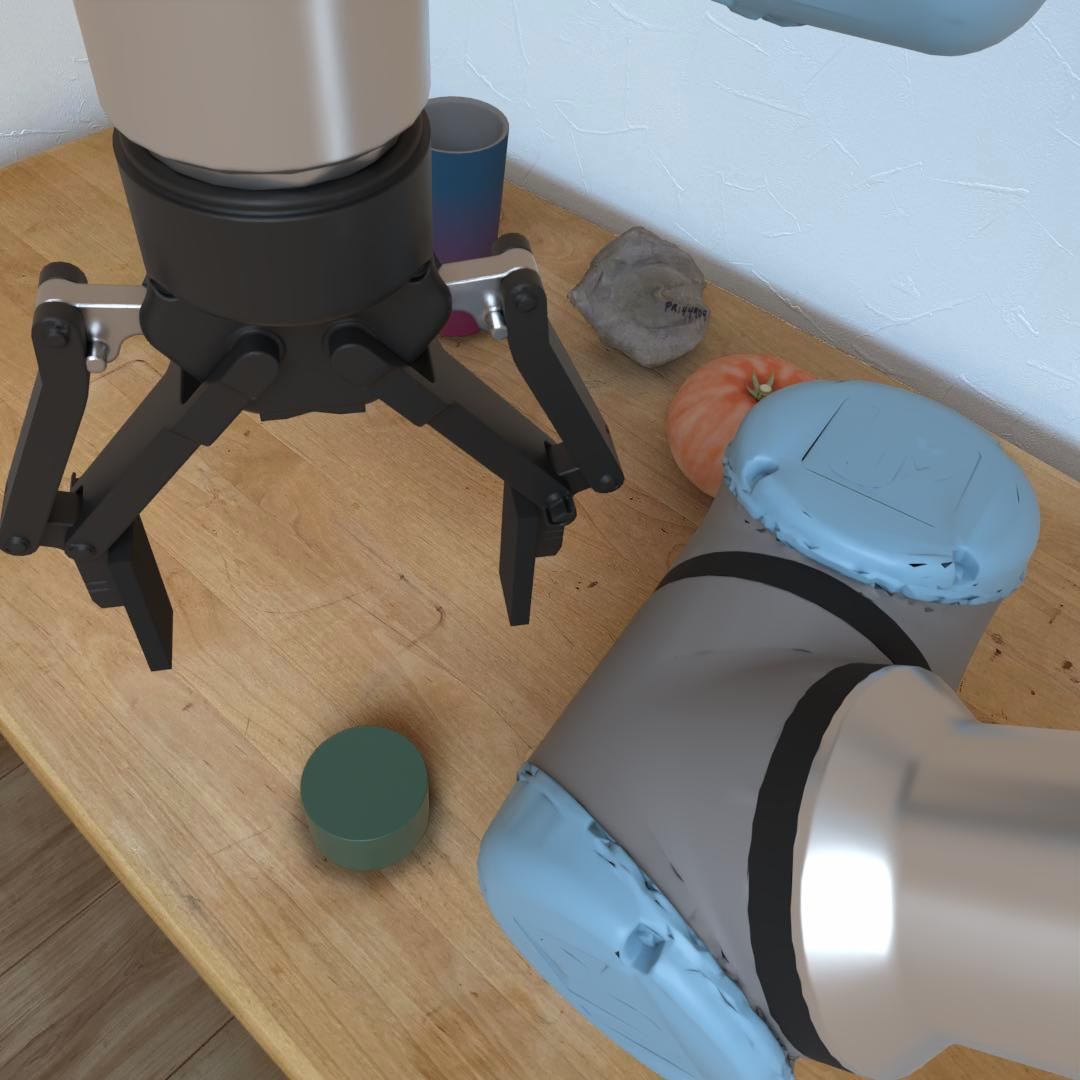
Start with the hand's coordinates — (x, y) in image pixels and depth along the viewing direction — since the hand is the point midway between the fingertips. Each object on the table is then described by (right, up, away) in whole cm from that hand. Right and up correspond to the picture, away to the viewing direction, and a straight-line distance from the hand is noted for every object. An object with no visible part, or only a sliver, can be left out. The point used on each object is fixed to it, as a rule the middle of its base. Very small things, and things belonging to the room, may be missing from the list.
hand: (343, 619), depth 42 cm
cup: (+2, +20, +37) cm, 42 cm away
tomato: (+21, +7, +28) cm, 36 cm away
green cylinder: (-1, -11, +11) cm, 16 cm away
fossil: (+15, +17, +36) cm, 42 cm away
